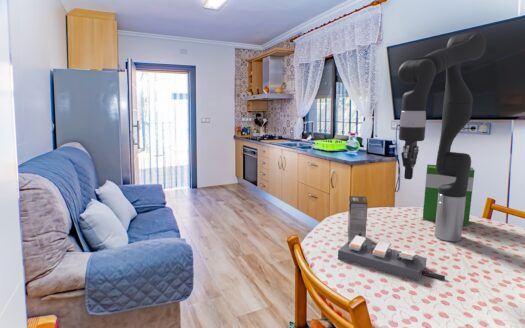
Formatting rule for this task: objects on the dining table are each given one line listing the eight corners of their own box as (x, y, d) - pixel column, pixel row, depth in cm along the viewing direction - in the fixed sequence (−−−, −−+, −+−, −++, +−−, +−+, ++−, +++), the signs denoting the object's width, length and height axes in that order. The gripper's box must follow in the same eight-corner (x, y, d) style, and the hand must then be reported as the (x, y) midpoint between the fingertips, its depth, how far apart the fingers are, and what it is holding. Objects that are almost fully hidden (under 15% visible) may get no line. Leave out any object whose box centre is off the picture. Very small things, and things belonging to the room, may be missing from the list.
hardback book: (422, 219, 150) (427, 167, 146) (422, 214, 157) (427, 164, 153) (468, 225, 143) (474, 170, 138) (466, 220, 149) (472, 167, 145)
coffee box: (347, 234, 133) (348, 195, 130) (363, 235, 132) (365, 196, 129) (348, 243, 124) (350, 201, 121) (366, 244, 123) (368, 202, 120)
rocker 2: (379, 242, 112) (379, 240, 111) (390, 245, 110) (390, 242, 109) (372, 254, 107) (372, 251, 106) (384, 257, 104) (384, 254, 104)
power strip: (350, 247, 120) (350, 234, 119) (447, 272, 102) (448, 257, 102) (337, 258, 112) (338, 244, 111) (441, 288, 94) (443, 271, 93)
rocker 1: (356, 237, 116) (356, 235, 116) (366, 240, 114) (366, 237, 114) (348, 248, 111) (348, 245, 111) (359, 251, 109) (359, 248, 109)
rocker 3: (404, 254, 107) (404, 250, 107) (416, 257, 105) (416, 253, 105) (398, 256, 101) (399, 253, 101) (411, 259, 99) (412, 256, 99)
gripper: (420, 126, 98) (416, 184, 101) (429, 124, 109) (424, 176, 112) (394, 126, 103) (390, 181, 106) (405, 124, 113) (401, 174, 116)
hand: (408, 178), depth 109 cm, fingers closed
